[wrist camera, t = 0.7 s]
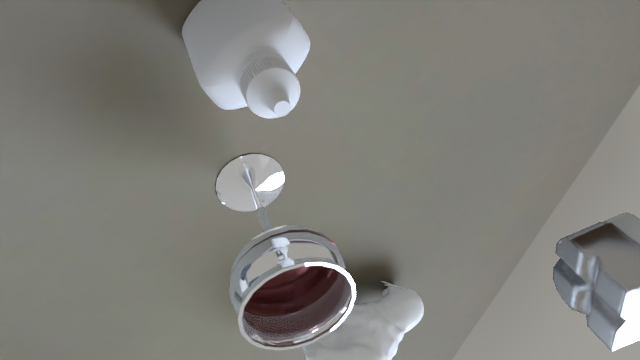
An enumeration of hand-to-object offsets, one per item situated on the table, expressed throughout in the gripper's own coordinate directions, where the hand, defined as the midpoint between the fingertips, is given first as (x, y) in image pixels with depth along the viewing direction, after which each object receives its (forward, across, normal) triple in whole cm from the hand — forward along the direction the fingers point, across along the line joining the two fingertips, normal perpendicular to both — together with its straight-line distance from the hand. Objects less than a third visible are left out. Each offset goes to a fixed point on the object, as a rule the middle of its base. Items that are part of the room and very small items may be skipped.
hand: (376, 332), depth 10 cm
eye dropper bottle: (+25, -1, +1) cm, 25 cm away
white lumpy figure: (+25, -4, +30) cm, 40 cm away
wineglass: (+25, +1, +13) cm, 28 cm away
